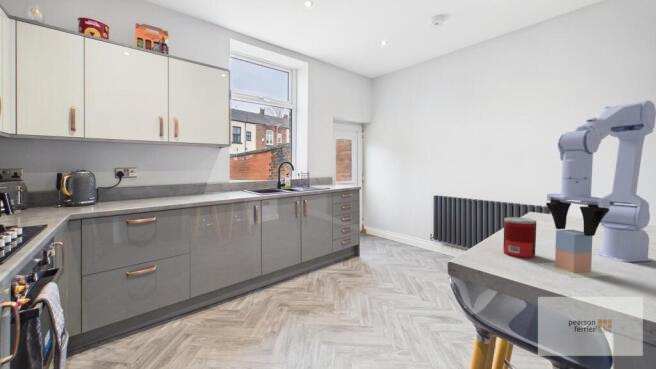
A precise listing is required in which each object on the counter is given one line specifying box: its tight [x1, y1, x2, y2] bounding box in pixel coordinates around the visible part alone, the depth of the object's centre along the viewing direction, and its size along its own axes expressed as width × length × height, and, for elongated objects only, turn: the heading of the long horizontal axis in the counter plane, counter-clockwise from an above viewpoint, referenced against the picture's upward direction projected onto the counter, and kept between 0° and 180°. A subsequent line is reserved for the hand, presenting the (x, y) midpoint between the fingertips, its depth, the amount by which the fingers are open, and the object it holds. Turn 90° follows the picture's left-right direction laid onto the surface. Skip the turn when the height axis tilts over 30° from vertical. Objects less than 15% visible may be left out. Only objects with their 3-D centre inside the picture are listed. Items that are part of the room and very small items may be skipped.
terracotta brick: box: [554, 248, 593, 273], centre depth 74 cm, size 5×5×5 cm
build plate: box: [536, 262, 612, 278], centre depth 74 cm, size 11×10×1 cm
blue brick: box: [555, 229, 593, 254], centre depth 74 cm, size 5×5×5 cm
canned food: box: [502, 216, 537, 259], centre depth 86 cm, size 8×8×11 cm
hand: (574, 232), depth 73 cm, fingers open, 7 cm apart
